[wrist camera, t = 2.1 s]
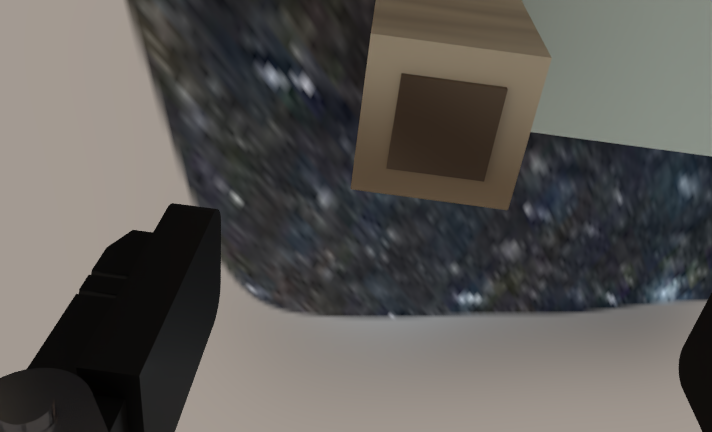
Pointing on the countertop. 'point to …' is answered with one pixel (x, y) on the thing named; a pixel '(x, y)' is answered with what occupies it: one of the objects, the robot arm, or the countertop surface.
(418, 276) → the countertop surface
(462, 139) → the beech block
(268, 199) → the countertop surface
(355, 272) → the countertop surface
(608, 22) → the flat grey rectangular slab
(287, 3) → the countertop surface
